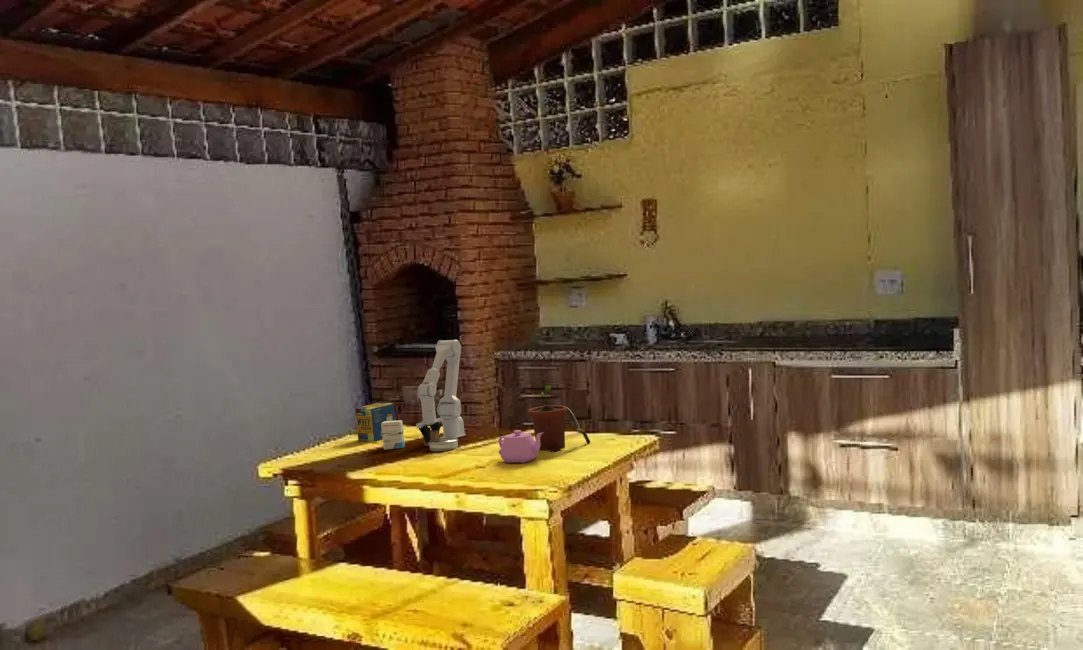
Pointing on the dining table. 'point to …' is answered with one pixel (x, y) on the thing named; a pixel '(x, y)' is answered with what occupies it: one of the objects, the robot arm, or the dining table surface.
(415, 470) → the dining table surface
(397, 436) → the ink box
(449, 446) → the biscuit tin
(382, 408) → the protein box
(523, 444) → the teapot
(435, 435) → the walnut block
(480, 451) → the dining table surface
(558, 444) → the potted plant
